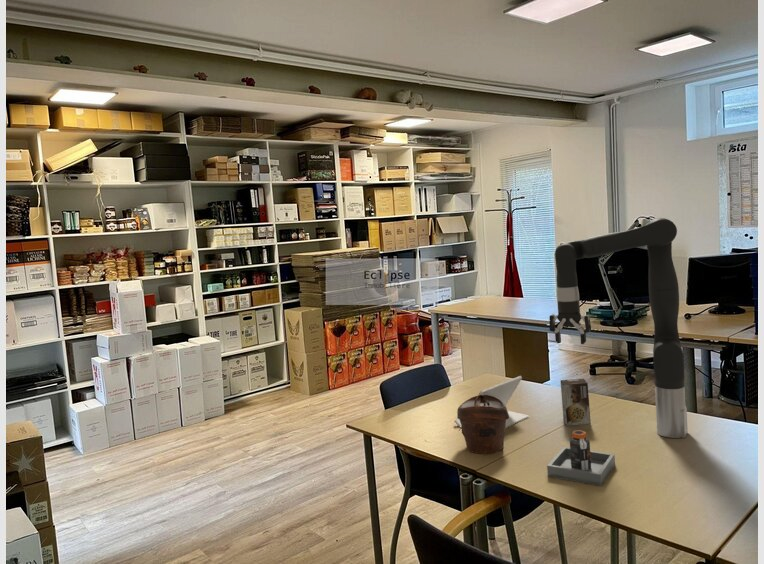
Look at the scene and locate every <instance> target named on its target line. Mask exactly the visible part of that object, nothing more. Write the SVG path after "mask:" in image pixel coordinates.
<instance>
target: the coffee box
mask: <svg viewBox="0 0 764 564" xmlns="http://www.w3.org/2000/svg"><path fill="white" fill-rule="evenodd" d="M560 391H561V392H560V393H561V405H562V417H563V419H562V420H563V422H564V424H565V425H566V426H579V424H580V425H591V424H592V423H591V410H590V409H591V408H590V398H589V397H590V395H589V383H588V382H587V381H586V379H585V378H574V379H573V378H572V379H571V378H570V379H562V380H561V379H560Z"/></svg>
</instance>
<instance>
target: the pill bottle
mask: <svg viewBox="0 0 764 564" xmlns="http://www.w3.org/2000/svg"><path fill="white" fill-rule="evenodd" d="M569 448H570V455H571V467H572V468H573V469H579V470H589V469H590V468H591V456H590V451H591V442H590V439H589V438H587V432H586V431H584V430H580V429H579V430H573V431H572V437H571V438H570V439H569Z"/></svg>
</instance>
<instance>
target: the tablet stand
mask: <svg viewBox="0 0 764 564" xmlns="http://www.w3.org/2000/svg"><path fill="white" fill-rule="evenodd" d="M522 379H523V377H522V375H519V376H517V377H513V378H511V379H508V380H506V381H503V382H500V383H498V384H495V385H492V386H490V387H487V388H484V389H482V390H480V391H479V393H478V395H491V396H495V397H497V398H499V399H500V400H501V401H502V402H503V403H504V405H505V406H506V407H507V405H508V403H509V402H510V400H511V398H512V397H513V394H514V393H515V391H516V389H517V387H518V385H519V384H520V382H521V381H522ZM478 395H477V396H478ZM507 411H508V414H509V418H508V419H506V425H505V429H507V428H509V427H511V425H512V426H513V424H514V425H516V424H518V423H520V422H522V421H524V420H526V418H527V419H528V417H530V416H529V415H527V414H524V413H519V412H515V411H511V410H507ZM523 419H524V420H523ZM521 420H522V421H521ZM519 421H520V422H519ZM517 422H518V423H517ZM454 423H455V424H456V425H457V426H458V425H459V426H461V423H460V419H458V418H457V417H456V418H455V419H454ZM515 423H516V424H515ZM459 426H458V427H459ZM508 426H509V427H508ZM461 427H462V426H461ZM506 427H507V428H506Z"/></svg>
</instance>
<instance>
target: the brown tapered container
mask: <svg viewBox="0 0 764 564" xmlns="http://www.w3.org/2000/svg"><path fill="white" fill-rule="evenodd" d="M508 411H509V410H508V407H507V405H506V406H505V405H504V403H503V402H502V401H501V400H500V399H499V398H497V397H495V396H491V395H475V396H473V397H470V398H468V399H466V400H465V401H464V402H462V403H461V404H460V405H459V406H458V408H457V412H456V413H457V417H456V418H458V419H460V423H461V426H462V427H461V428H460V427H459V430H458V432H460V431H461V434H462V436H463V438H464V441H465V445H466V448H467V449H468V451H469V452H471V453H474V454H478V453H481V454H480V455H488V454H487V453H489V454H493V452H494V453H496V452H500V450H502V449H503V447H504V442H505V433H506V432H505V431H506V428H505V425H506V419H508V418H509V414H508Z"/></svg>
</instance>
